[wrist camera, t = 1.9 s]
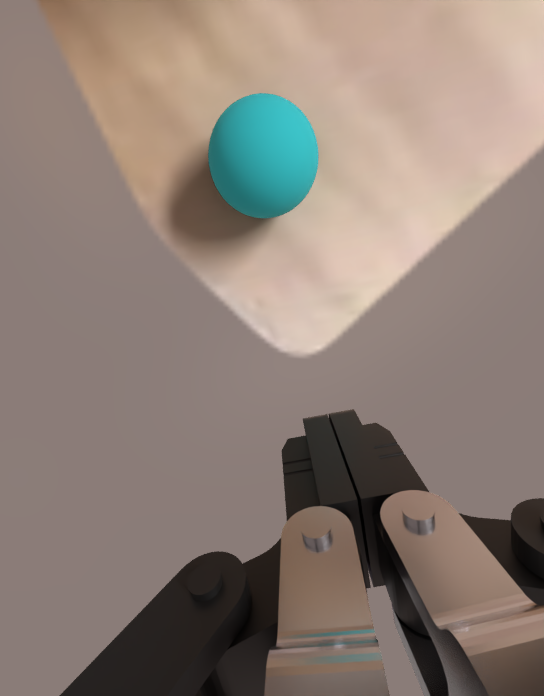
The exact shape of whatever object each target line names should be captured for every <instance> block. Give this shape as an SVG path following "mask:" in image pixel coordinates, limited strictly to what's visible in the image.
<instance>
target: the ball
mask: <svg viewBox="0 0 544 696" xmlns="http://www.w3.org/2000/svg"><path fill="white" fill-rule="evenodd" d="M208 158H209V167H210V172H211V176H212V179H213V181H214V184H215V186H216V188H217V190H218V191H219V193H220V194H221V196H222V197H223V198H224V200H225V201H226V202H227V203H228V204H229V205H231V206H232V207H233V208H234V209H236V210H237V211H239V212H241V213H243V214H245V215H248V216H251V217H256V218H273V217H277V216H280V215H283V214H285V213H287V212H289V211H290V210H292V209H294V208H295V207H296V206H297V205H298V204H299V203H300V202H301V201H302V200H303V199H304V198H305V196H306V195H307V194H308V192H309V190H310V188H311V187H312V184H313V182H314V179H315V176H316V172H317V167H318V146H317V141H316V137H315V134H314V131H313V129H312V126H311V124H310V122H309V121H308V119H307V118H306V116H305V115H304V114H303V112H302V111H301V110H300V109H299V108H298V107H297V106H295V105H294V104H293V103H291V102H290V101H288V100H286V99H284V98H282V97H280V96H277V95H273V94H262V93H259V94H252V95H249V96H246V97H243V98H241V99H239V100H237V101H236V102H234V103H233V104H231V105H230V106H229V107H228V108H227V109H226V110H225V111H224V112H223V114H222V115H221V116H220V118H219V119H218V121H217V122H216V125H215V127H214V129H213V132H212V135H211V138H210V143H209V152H208Z"/></svg>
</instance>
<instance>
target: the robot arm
mask: <svg viewBox="0 0 544 696" xmlns="http://www.w3.org/2000/svg"><path fill="white" fill-rule="evenodd" d="M303 423H304V428H305V433H306V436H301V437H296V438H290V439H288V440H287V442H286V444H285V445H284V447H283V449H282V461H283V473H284V486H285V501H286V513H287V522H286V524H285V526H284V528H283V530H282V535H281V539H280V540H279V541H278V542H277V543H276V544H275V545H274V546H273V547H272V548H271V549H270V550H268V551H267V552H265V553H263V554H262V555H260V556H258V557H255V558H253V559H251V560H249V561H247V562H245V563H243V564H242V563H241V561H240V560H239V559H238V558H237V557H236V556H234V555H232V554H230V553H226V552H211V553H207V554H204V555H201V556H199V557H197V558H195V559H194V560H192V561H191V562H190V563H188V564H187V565H186V566H185V567H184V568H183V569H181V570H180V571H179V573H178V574H177V575H176V576H175V577H174V578H173V579H172V580H171V581H170V582H169V583H168V584H167V585H166V586H165V587H164V588H163V589H162V590H161V591H160V592H159V593H158V594H157V595H156V597H154V598H153V599H152V601H151V602H150V603H149V604H148V605H147V606H146V607H145V608H144V609H143V610H142V611H141V612H140V613H139V614H138V615H137V616H136V617H135V618H134V619H133V620H132V621H131V622H130V623H129V624H128V625H127V626H126V627H125V629H124V630H123V631H122V632H121V633H120V634H119V635H118V636H117V637H116V638H115V639H114V640H113V641H112V642H111V643H110V644H109V645H108V646H107V647H106V648H105V649H104V650H103V651H102V652H101V653H100V654H99V655H98V657H97V658H96V659H95V660H94V661H93V662H92V663H91V664H90V665H89V666H88V667H87V668H86V669H85V670H84V671H83V672H82V673H81V674H80V675H79V676H78V677H77V678H76V679H75V680H74V681H73V682H72V683H71V685H70V686H69V687H68V688H67V689H66V690H65V691H64V692H63V693H62V694H61V695H60V696H390V695H389V690H388V686H387V680H386V676H385V671H384V667H383V662H382V657H381V653H380V648H379V644H378V640H377V639H376V636H375V631H374V627H373V622H372V617H371V612H370V607H369V603H368V596H367V590H366V588H370V580H369V574H370V577H371V580H372V583H373V587H377V586H383V585H386V588H387V591H388V594H389V597H390V600H391V602H392V610H393V617H394V623H395V626H396V629H397V631H398V634H399V636H400V638H401V641H402V643H403V646H404V648H405V651H406V653H407V656H408V658H409V660H410V663H411V665H412V667H413V670H414V673H415V675H416V677H417V680H418V682H419V685H420V687H421V689H422V692H423V694H424V696H544V499H542V498H539V499H530V500H526V501H523V502H521V503H519V504H518V505H517V506H516V507H515V508H514V509H513V511H512V513H511V521H509V520H499V519H487V518H477V517H470V516H467V515H463V514H459V513H458V512H457V511H456V510H455V509H454V507H453V506H452V505H451V504H450V503H449V502H447V501H446V500H444V499H443V498H441V497H440V496H437V495H435V494H433V493H430V492H429V491H428V489H427V488H426V486H425V485H424V483H423V482H422V480H421V478H420V477H419V476H418V474H417V472H416V471H415V469H414V468H413V466H412V465H411V463H410V462H409V460H408V459H407V457H406V455H404V453H403V451H402V449H401V448H400V446H399V445H398V444H397V442H396V440H395V439H394V437H393V435H392V434H391V432H390V431H388V430H387V429H385V428H384V427H382V426H380V425H379V424H377V423H373V424H367V425H362V424H361V422H360V420H359V418H358V416H357V414H356V412H355V411H354V410H353V409H352V410H346V411H341V412H336V413H331V414H329V418H328V416H327V414H325V415H321V416H314V417H309V418H304V419H303ZM368 571H369V574H368Z"/></svg>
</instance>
